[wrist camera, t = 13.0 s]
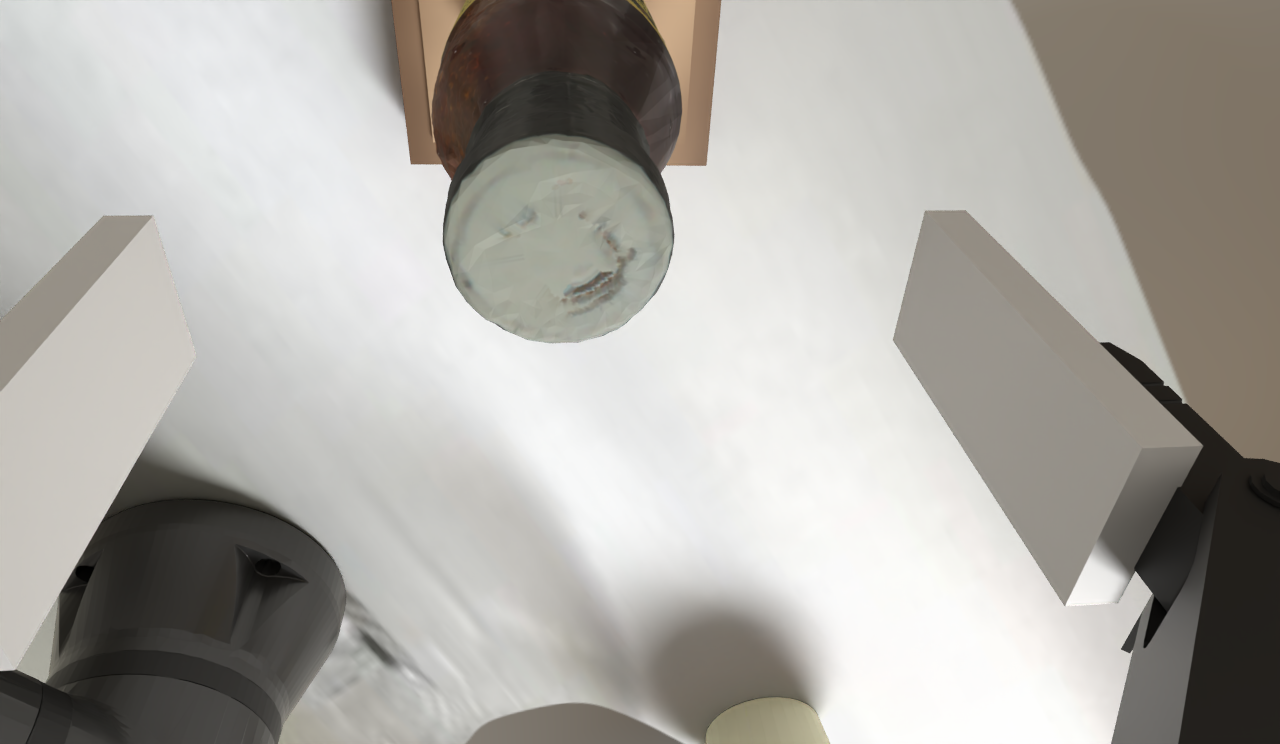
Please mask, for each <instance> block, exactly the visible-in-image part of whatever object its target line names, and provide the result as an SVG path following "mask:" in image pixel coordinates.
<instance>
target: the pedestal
mask: <svg viewBox="0 0 1280 744" xmlns="http://www.w3.org/2000/svg"><path fill="white" fill-rule="evenodd" d="M465 1H466V0H391V2H392V11H393V19H394V27H395V36H396V44H397V52H398V61H399V69H400V77H401V86H402V94H403V102H404V111H405V119H406V127H407V136H408V144H409V152H410V161H411V164H442V162H441V160H440V158H439V157H438V155H437V153H436V143H435V139H434V134H433V125H432V117H431V114H432V100H433V95H434V87H435V83H436V80H437V76H438V71H439V69H440V64H441V58H442V54H443V51H444V48H445V44H446V41H447V39H448V37H449V35H450V32H451V30H452V28H453V26H454V24H455V22H456V20H457V18H458V16H459V14H460V11H461V9H462V7H463V5H464V3H465ZM644 2H645V4H646V6H647V9H648V11H649V12H650V14H651V16H652V18H653V20H654V22H655V24H656V27H657V29H658V31H659V33H660V35H661V36H662V38H663V40H664V41H665V44H666V47H667V49H668V51H669V54H670V56H671V58H672V60H673V63H674V66H675V68H676V72H677V75H678V79H679V82H680V89H681V96H682V118H681V126H680V133H679V136H678V139H677V142H676V145H675V148H674V151H673V153H672V155H671V157H670V159H669V161H668V163H667V164H666V165H686V166H706V163H707V152H708V141H709V130H710V119H711V108H712V97H713V86H714V75H715V64H716V52H717V41H718V30H719V19H720V8H721V0H644Z"/></svg>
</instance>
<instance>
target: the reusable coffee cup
mask: <svg viewBox="0 0 1280 744" xmlns="http://www.w3.org/2000/svg"><path fill="white" fill-rule="evenodd" d="M706 744H830V742H829V740H828V738H827V735H826V733H825V731H824V728H823V726H822V724H821V722H820V719H819V717H818V715H817V713H816V712H815V711H814V709H813V708H811V707H810V706H809V705H808V704H805V703H803V702H801V701H799V700H795V699H791V698H783V697H767V698H759V699H754V700H750V701H746V702H743V703H741V704H738V705H735V706H733V707H731V708H729V709H727V710H726V711H724V712H723V713H721V714H720V715H719V716H717V717H716V718H715V719H714V720H713V721H712V723H711V724H710V726H709V727H708V729H707V732H706Z"/></svg>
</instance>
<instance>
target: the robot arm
mask: <svg viewBox="0 0 1280 744" xmlns="http://www.w3.org/2000/svg"><path fill="white" fill-rule="evenodd" d="M893 341H894V343H895V344H896V346H897V347H898V349H899V350H900V352H901V353H902V355H903V357H904V358H905V360H906V361H907V363H908V364H909V366H910V367H911V369H912V370H913V372H914V374H915V375H916V377H917V378H918V380H919V381H920V383H921V384H922V386H923V388H924V389H925V391H926V392H927V394H928V395H929V397H930V398H931V400H932V401H933V403H934V405H935V406H936V408H937V409H938V411H939V412H940V414H941V415H942V417H943V418H944V420H945V422H946V423H947V425H948V426H949V428H950V429H951V431H952V432H953V434H954V436H955V437H956V439H957V440H958V442H959V443H960V445H961V446H962V448H963V449H964V451H965V453H966V454H967V456H968V457H969V459H970V460H971V462H972V463H973V465H974V466H975V468H976V470H977V471H978V473H979V474H980V476H981V477H982V479H983V480H984V482H985V484H986V485H987V487H988V488H989V490H990V491H991V493H992V494H993V496H994V497H995V499H996V501H997V502H998V504H999V505H1000V507H1001V508H1002V510H1003V511H1004V513H1005V514H1006V516H1007V518H1008V519H1009V521H1010V522H1011V524H1012V525H1013V527H1014V528H1015V530H1016V532H1017V533H1018V535H1019V536H1020V538H1021V539H1022V541H1023V542H1024V544H1025V545H1026V547H1027V549H1028V550H1029V552H1030V553H1031V555H1032V556H1033V558H1034V559H1035V561H1036V563H1037V564H1038V566H1039V567H1040V569H1041V570H1042V572H1043V573H1044V575H1045V576H1046V578H1047V580H1048V581H1049V583H1050V584H1051V586H1052V587H1053V589H1054V590H1055V592H1056V593H1057V595H1058V597H1059V598H1060V600H1061V601H1062V603H1063V604H1064V606H1079V605H1096V604H1112V603H1118V602H1119V600H1120V598H1121V597H1122V595H1123V593H1124V591H1125V589H1126V587H1127V586H1128V584H1129V582H1130V580H1131V578H1132V576H1133V575H1134V573H1135V571H1136V572H1137V573H1138V575H1139V576H1140V577H1141V579H1142V580H1143V581H1144V583H1145V584H1146V585H1147V586H1148V588H1149V589H1150V590H1151V592H1152V593H1153V594H1152V596H1151V597H1150V599H1149V601H1148V603H1147V604H1146V606H1145V608H1144V610H1143V611H1142V613H1141V615H1140V617H1139V618H1138V620H1137V622H1136V624H1135V625H1134V627H1133V629H1132V631H1131V632H1130V634H1129V636H1128V638H1127V639H1126V641H1125V643H1124V645H1123V646H1122V648H1121V650H1124V651H1126V652H1128V653H1130V652H1131V651H1132V650H1133V653H1132V657H1131V661H1130V666H1129V670H1128V674H1127V679H1126V683H1125V687H1124V691H1123V696H1122V700H1121V704H1120V708H1119V713H1118V717H1117V721H1116V725H1115V730H1114V734H1113V738H1112V742H1111V744H1280V463H1277V462H1273V461H1269V460H1265V459H1250V458H1249V459H1248V458H1243V457H1242V456H1241V455H1240V454H1239V453H1238V452H1237V451H1236V450H1235V449H1234V448H1233V447H1232V446H1231V445H1230V444H1229V443H1228V442H1226V441H1225V440H1224V439H1223V438H1222V437H1221V436H1220V435H1219V434H1218V433H1217V432H1216V431H1215V430H1214V429H1213V428H1212V427H1211V426H1209V424H1208V423H1206V421H1204V420H1203V419H1202V418H1201V417H1200V416H1199V415H1198V414H1197V413H1196V412H1195V411H1194V410H1193V409H1192V408H1191V407H1190V406H1189V405H1188V404H1182V399H1181V398H1180V397H1179V396H1178V395H1177V394H1176V393H1175V392H1174V391H1173V390H1172V389H1171V388H1170V387H1169V386H1164V382H1163V381H1162V380H1161V379H1160V378H1159V377H1158V376H1157V375H1156V374H1155V373H1154V372H1153V371H1152V370H1151V369H1150V368H1149V367H1148V366H1147V365H1146V364H1145V363H1144V362H1142V361H1141V360H1140V359H1138V358H1136V357H1134V356H1133V355H1131V354H1129V353H1127V352H1126V351H1124V350H1122V349H1120V348H1119V347H1117V346H1115V345H1113V344H1112V343H1110V342H1105V343H1099V342H1098V341H1097V340H1096V339H1095V338H1094V337H1093V336H1092V335H1091V334H1090V333H1089V332H1088V331H1087V330H1086V329H1085V328H1084V327H1083V326H1082V325H1081V324H1080V323H1079V322H1078V321H1077V320H1076V319H1075V318H1074V317H1073V316H1072V315H1071V314H1070V313H1069V312H1068V311H1067V310H1066V309H1065V308H1064V307H1063V306H1062V305H1061V304H1060V303H1059V302H1058V301H1057V300H1056V299H1055V298H1054V297H1052V296H1051V295H1050V294H1049V293H1048V292H1047V291H1046V290H1045V289H1044V288H1043V287H1042V286H1041V285H1040V284H1039V283H1038V282H1037V281H1036V280H1035V279H1034V278H1033V277H1032V276H1031V275H1030V274H1029V273H1028V272H1027V271H1026V270H1025V269H1024V268H1023V267H1022V266H1021V265H1020V264H1019V263H1018V262H1017V261H1016V260H1015V259H1014V258H1013V257H1012V256H1011V255H1010V254H1009V253H1008V252H1007V251H1006V250H1005V249H1004V248H1003V247H1002V246H1001V245H1000V244H999V243H998V242H997V241H996V240H995V239H994V238H993V237H992V236H991V235H990V234H989V233H988V232H987V231H986V230H985V229H984V228H983V227H982V226H981V225H980V224H979V223H978V222H977V221H976V220H975V219H974V218H973V217H972V216H971V215H970V214H969V213H968V212H967V211H966V210H956V211H925V213H924V217H923V221H922V225H921V229H920V233H919V237H918V241H917V245H916V249H915V253H914V257H913V261H912V265H911V269H910V273H909V277H908V281H907V285H906V289H905V293H904V297H903V301H902V305H901V309H900V313H899V317H898V321H897V325H896V329H895V333H894V337H893ZM196 357H197V355H196V352H195V349H194V345H193V342H192V339H191V336H190V333H189V329H188V326H187V323H186V320H185V316H184V313H183V310H182V307H181V303H180V300H179V297H178V294H177V290H176V287H175V284H174V281H173V278H172V274H171V271H170V268H169V265H168V261H167V258H166V255H165V252H164V248H163V245H162V242H161V239H160V235H159V232H158V229H157V226H156V223H155V219H154V216H103V217H102V218H101V219H100V220H99V221H98V222H97V223H96V224H95V225H94V226H93V227H92V228H91V229H90V230H89V231H88V232H87V233H86V234H85V235H84V236H83V237H82V238H81V239H80V240H79V241H78V242H77V243H76V244H75V245H74V246H73V247H72V248H71V249H70V250H69V251H68V252H67V253H66V254H65V255H64V257H63V258H62V259H61V260H60V261H59V262H58V263H57V264H56V265H55V266H54V267H53V268H52V269H51V270H50V271H49V272H48V273H47V274H46V275H45V276H44V277H43V278H42V279H41V280H40V281H39V282H38V283H37V284H36V285H35V286H34V287H33V288H32V289H31V290H30V291H29V292H28V293H27V294H26V295H25V296H24V297H23V298H22V299H21V300H20V301H19V302H18V303H17V304H16V305H15V306H14V308H13V309H12V310H11V311H10V312H9V313H8V314H7V315H6V316H5V317H4V318H3V319H2V320H1V321H0V744H278V741H279V737H280V734H281V731H282V727H283V724H284V722H285V721H286V719H287V718H288V716H289V715H290V713H291V712H292V710H293V709H294V707H295V706H296V704H297V703H298V701H299V700H300V698H301V697H302V695H303V694H304V692H305V691H306V689H307V688H308V687H309V685H310V684H311V682H312V681H313V679H314V678H315V676H316V675H317V673H318V672H319V670H320V669H321V667H322V666H323V664H324V663H325V661H326V660H327V658H328V657H329V655H330V654H331V652H332V650H333V648H334V646H335V643H336V641H337V639H338V635H339V632H340V627H341V623H342V619H343V615H344V611H345V605H346V591H345V585H344V582H343V579H342V576H341V574H340V572H339V570H338V568H337V566H336V565H335V563H334V562H333V560H332V559H331V558H330V557H329V555H328V554H327V553H326V552H325V551H324V550H323V549H322V548H321V547H320V546H319V545H318V544H317V543H316V542H315V541H313V540H312V539H311V538H310V537H308V536H307V535H305V534H304V533H303V532H301V531H299V530H298V529H296V528H295V527H293V526H291V525H289V524H287V523H286V522H284V521H281V520H279V519H277V518H275V517H273V516H270V515H268V514H265V513H262V512H259V511H257V510H253V509H250V508H247V507H243V506H239V505H234V504H229V503H224V502H217V501H207V500H169V501H160V502H154V503H149V504H145V505H140V506H137V507H134V508H131V509H128V510H125V511H123V512H121V513H119V514H116V515H114V516H113V517H111V518H109V519H107V520H106V521H104V522H103V523H101V521H102V519H103V518H104V516H105V514H106V513H107V511H108V509H109V507H110V506H111V504H112V502H113V500H114V499H115V497H116V495H117V494H118V492H119V490H120V488H121V487H122V485H123V483H124V481H125V480H126V478H127V476H128V475H129V473H130V471H131V469H132V468H133V466H134V464H135V462H136V461H137V459H138V457H139V456H140V454H141V452H142V450H143V449H144V447H145V445H146V443H147V442H148V440H149V438H150V437H151V435H152V433H153V431H154V430H155V428H156V426H157V424H158V423H159V421H160V419H161V418H162V416H163V414H164V412H165V411H166V409H167V407H168V405H169V404H170V402H171V400H172V399H173V397H174V395H175V393H176V392H177V390H178V388H179V387H180V385H181V383H182V381H183V380H184V378H185V376H186V374H187V373H188V371H189V369H190V368H191V366H192V364H193V362H194V361H195V359H196ZM100 523H101V524H100ZM58 595H59V600H58V608H57V615H56V623H55V631H54V639H53V646H52V654H51V662H50V670H49V676H48V679H47V681H46V683H43V682H41V681H39V680H37V679H35V678H33V677H31V676H29V675H27V674H24V673H22V672H20V671H18V670H16V668H17V666H18V665H19V663H20V661H21V659H22V658H23V656H24V654H25V652H26V651H27V649H28V647H29V646H30V644H31V642H32V640H33V639H34V637H35V635H36V633H37V632H38V630H39V628H40V627H41V625H42V623H43V621H44V620H45V618H46V616H47V614H48V613H49V611H50V609H51V608H52V606H53V604H54V602H55V601H56V599H57V597H58ZM1133 648H1134V649H1133Z"/></svg>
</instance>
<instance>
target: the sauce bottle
mask: <svg viewBox="0 0 1280 744" xmlns="http://www.w3.org/2000/svg"><path fill="white" fill-rule="evenodd" d="M431 117H432V125H433V134H434V139H435V143H436V153H437V155H438V157H439V158H440V160H441V162H442V165H443V167H444V168H445V170H446V172H447V173H448V175H449V176H450V178H451V180H452V182H451V184H450V187H449V192H448V199H447V203H446V209H445V216H444V223H443V246H444V251H445V256H446V260H447V263H448V266H449V268H450V271H451V274H452V277H453V280H454V283H455V285H456V287H457V288H458V290H459V291H460V293H461V294H462V296H463V297H464V298H465V300H466V301H467V302H468V303H469V304H470V305H471V306H472V308H473V309H474V310H475V311H476V312H478V313H479V314H480V315H481V316H482V317H484V318H485V319H486V320H488V321H490V322H493V323H495V324H496V325H498V326H499V327H501V328H502V329H503V330H506V331H508V332H510V333H513V334H515V335H518V336H520V337H522V338H524V339H527V340H532V341H539V342H545V343H578V342H581V341H585V340H588V339H592V338H596V337H600V336H604V335H606V334H607V333H609V332H611V331H614V330H617V329H618V328H620V327H621V326H623V325H624V324H626V323H627V322H628V321H629V320H630V319H631V318H632V317H633V316H634V315H635V314H637V313H638V312H639V311H640V310H641V309H642V308H643V307H644V306H645V305H646V304H647V302H648V301H649V300H650V299H651V298H652V297H653V296H654V295H655V294H656V292H657V291H658V289H659V287H660V285H661V283H662V281H663V279H664V277H665V275H666V272H667V270H668V267H669V263H670V260H671V256H672V250H673V244H674V228H673V220H672V214H671V211H670V203H669V197H668V193H667V190H666V187H665V184H664V181H663V178H662V176H661V174H660V173H661V172H662V170H663V169H664V168H665V166H666V164H667V163H668V161H669V159H670V157H671V155H672V153H673V151H674V148H675V145H676V142H677V139H678V136H679V133H680V126H681V118H682V96H681V89H680V82H679V79H678V75H677V72H676V68H675V66H674V63H673V60H672V58H671V56H670V54H669V51H668V49H667V47H666V44H665V41H664V40H663V38H662V36H661V35H660V33H659V31H658V29H657V27H656V24H655V22H654V20H653V18H652V16H651V14H650V12H649V11H648V9H647V6H646V4H645V2H644V0H466V1H465V3H464V5H463V7H462V9H461V11H460V14H459V16H458V18H457V20H456V22H455V24H454V26H453V28H452V30H451V32H450V35H449V37H448V39H447V41H446V44H445V48H444V51H443V54H442V58H441V64H440V69H439V71H438V76H437V80H436V83H435V87H434V95H433V100H432V114H431Z"/></svg>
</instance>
